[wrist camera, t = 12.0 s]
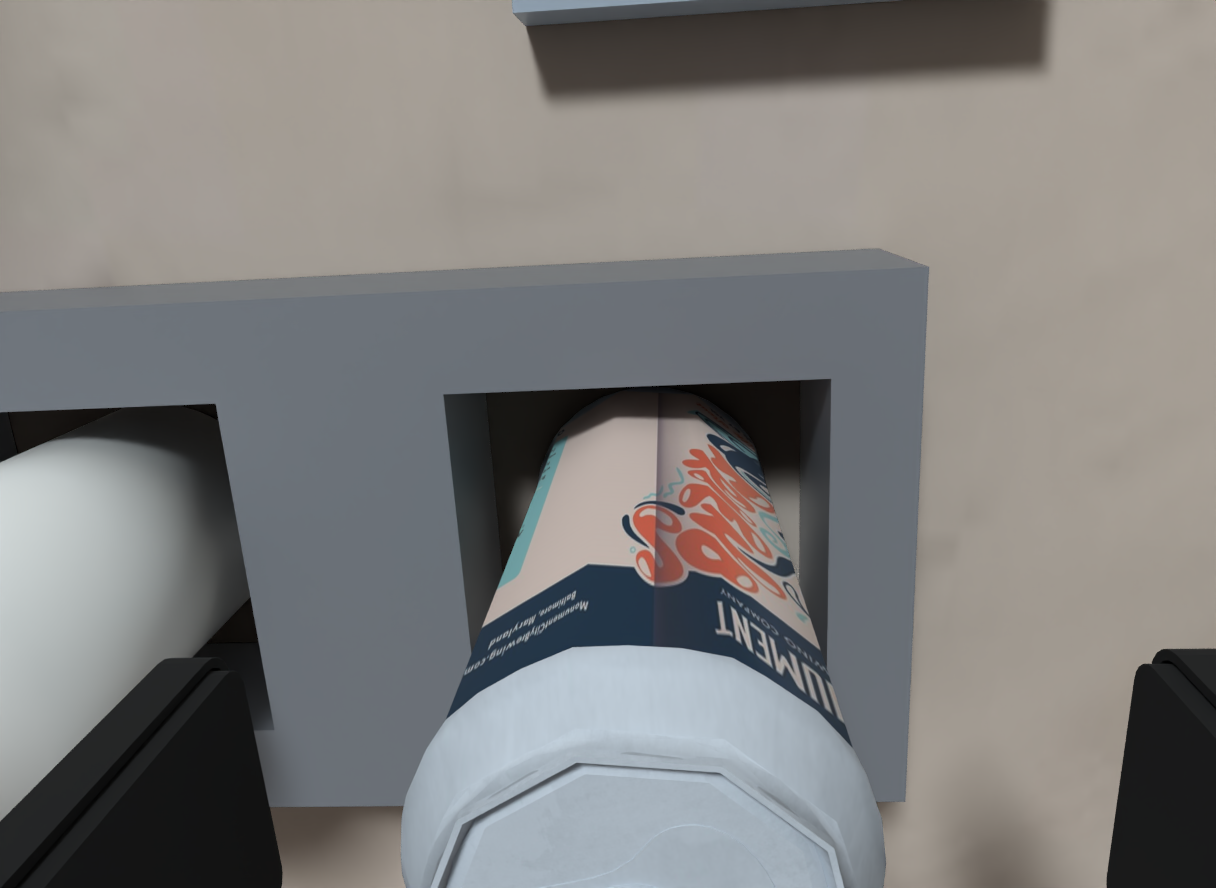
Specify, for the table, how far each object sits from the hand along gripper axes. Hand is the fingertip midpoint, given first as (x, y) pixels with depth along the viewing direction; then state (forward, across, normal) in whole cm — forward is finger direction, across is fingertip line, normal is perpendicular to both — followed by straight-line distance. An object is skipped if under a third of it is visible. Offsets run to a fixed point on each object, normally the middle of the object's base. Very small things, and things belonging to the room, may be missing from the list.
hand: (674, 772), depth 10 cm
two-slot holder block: (+10, +6, +1) cm, 12 cm away
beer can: (+10, +1, +1) cm, 10 cm away
